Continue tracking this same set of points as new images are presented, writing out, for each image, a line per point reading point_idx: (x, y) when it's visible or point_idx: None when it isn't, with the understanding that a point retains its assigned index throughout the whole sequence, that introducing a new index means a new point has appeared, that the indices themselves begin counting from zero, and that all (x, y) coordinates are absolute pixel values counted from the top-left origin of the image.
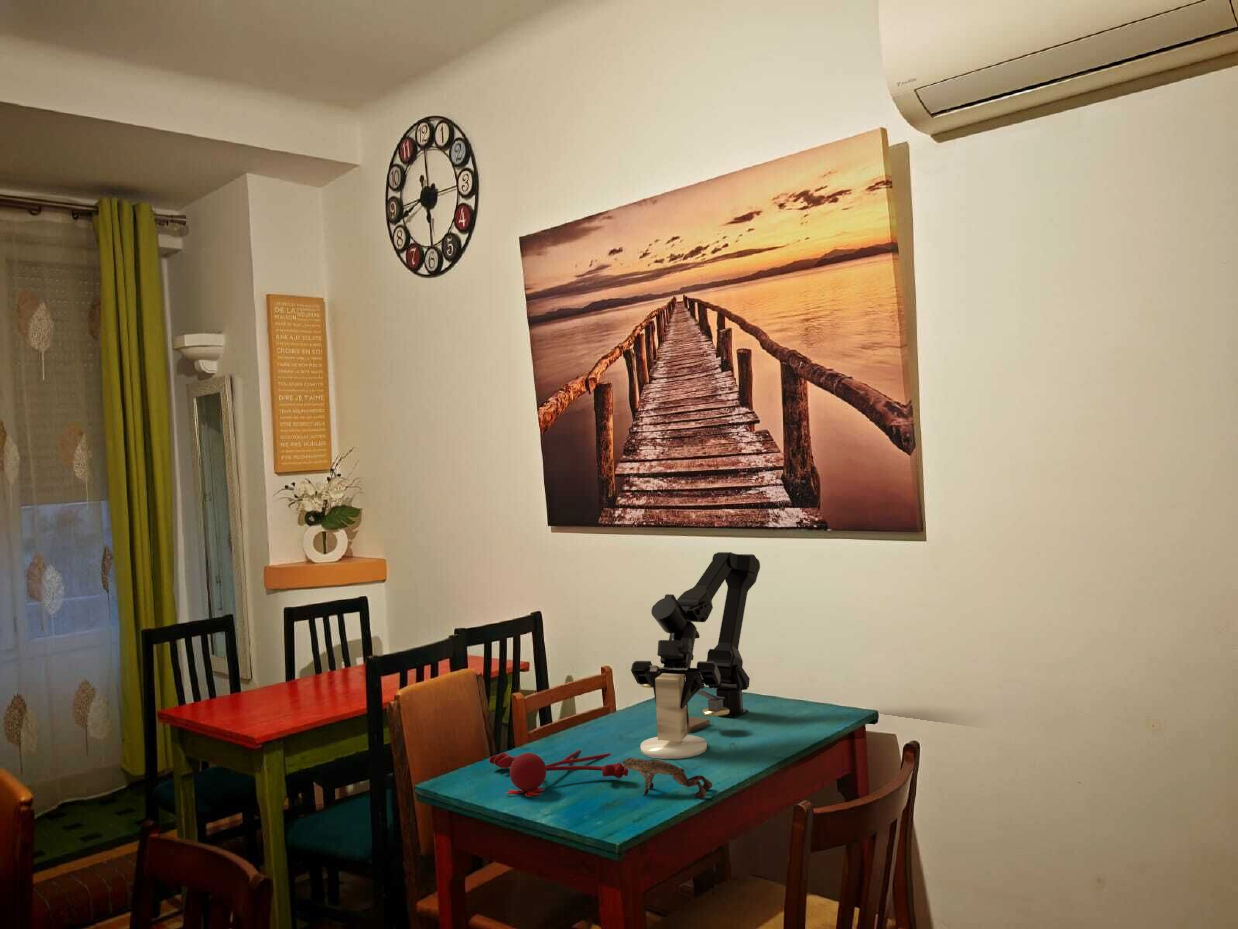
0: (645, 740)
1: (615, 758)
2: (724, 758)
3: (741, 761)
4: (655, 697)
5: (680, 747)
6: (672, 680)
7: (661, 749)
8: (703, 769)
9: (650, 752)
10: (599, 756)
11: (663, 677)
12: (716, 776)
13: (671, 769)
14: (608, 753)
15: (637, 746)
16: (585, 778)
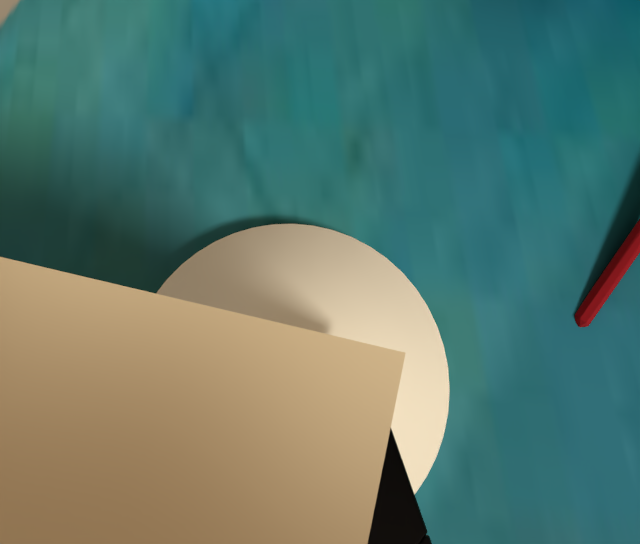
0: (434, 453)
1: (539, 259)
2: (70, 229)
3: (7, 186)
4: (391, 450)
5: (246, 310)
6: (32, 265)
7: (334, 284)
8: (156, 96)
9: (383, 256)
10: (620, 252)
11: (215, 470)
12: (111, 18)
13: None
14: (588, 313)
15: (469, 448)
16: (604, 9)
